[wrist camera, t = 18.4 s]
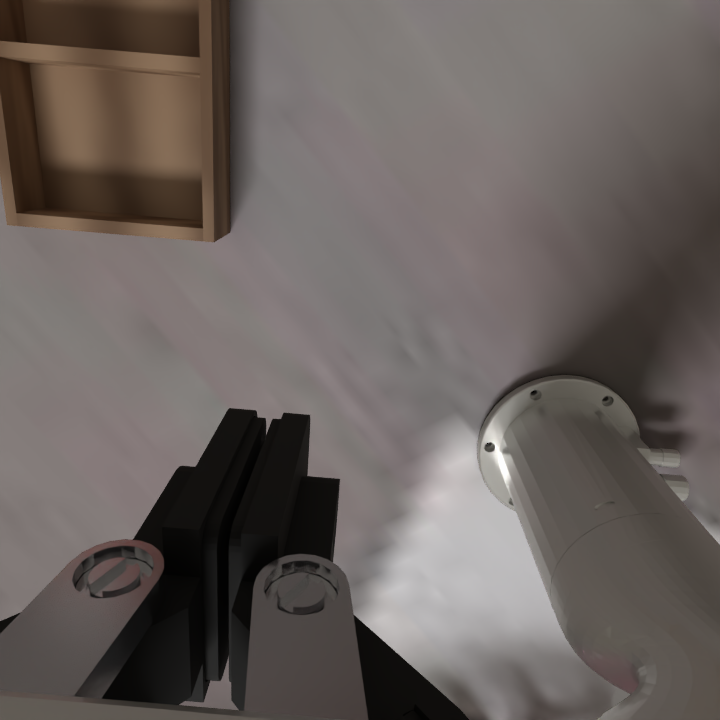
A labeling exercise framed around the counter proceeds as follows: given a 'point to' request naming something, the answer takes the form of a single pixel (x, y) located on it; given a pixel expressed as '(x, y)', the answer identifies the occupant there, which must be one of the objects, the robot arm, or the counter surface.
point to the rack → (116, 116)
